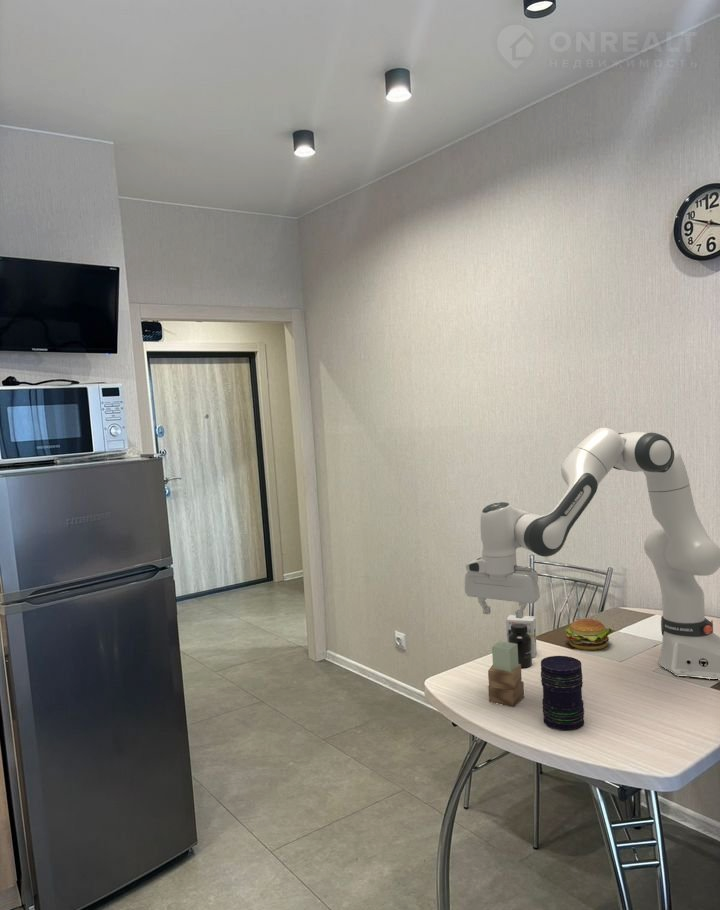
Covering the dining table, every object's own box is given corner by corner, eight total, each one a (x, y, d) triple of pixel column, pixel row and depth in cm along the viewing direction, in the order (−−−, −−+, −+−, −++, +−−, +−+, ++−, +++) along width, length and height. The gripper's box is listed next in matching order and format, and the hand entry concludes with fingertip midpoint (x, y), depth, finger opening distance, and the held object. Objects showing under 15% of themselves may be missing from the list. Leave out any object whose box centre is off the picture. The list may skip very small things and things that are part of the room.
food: (557, 647, 223) (556, 623, 223) (577, 635, 234) (576, 612, 233) (599, 655, 214) (598, 630, 214) (617, 642, 224) (616, 618, 224)
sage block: (518, 665, 187) (517, 643, 187) (510, 672, 183) (509, 649, 183) (501, 662, 190) (500, 641, 190) (493, 668, 186) (491, 646, 186)
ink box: (506, 656, 219) (504, 619, 218) (509, 650, 223) (507, 614, 222) (535, 658, 215) (533, 620, 214) (537, 652, 220) (535, 615, 219)
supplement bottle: (532, 668, 207) (530, 629, 206) (509, 668, 208) (507, 629, 208) (531, 660, 214) (530, 622, 213) (509, 660, 215) (507, 622, 214)
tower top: (521, 680, 188) (520, 664, 188) (515, 690, 182) (514, 673, 182) (496, 677, 191) (495, 661, 191) (488, 687, 185) (488, 670, 185)
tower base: (524, 697, 188) (523, 681, 187) (513, 707, 182) (512, 690, 182) (500, 692, 192) (499, 676, 192) (489, 702, 186) (488, 686, 186)
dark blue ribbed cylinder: (560, 734, 166) (557, 673, 165) (534, 718, 175) (531, 660, 174) (593, 724, 170) (590, 664, 169) (566, 709, 179) (563, 652, 178)
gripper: (541, 564, 181) (545, 616, 182) (471, 559, 193) (474, 608, 194) (532, 570, 176) (535, 624, 177) (460, 564, 188) (463, 614, 189)
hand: (503, 615), depth 185 cm, fingers open, 8 cm apart
